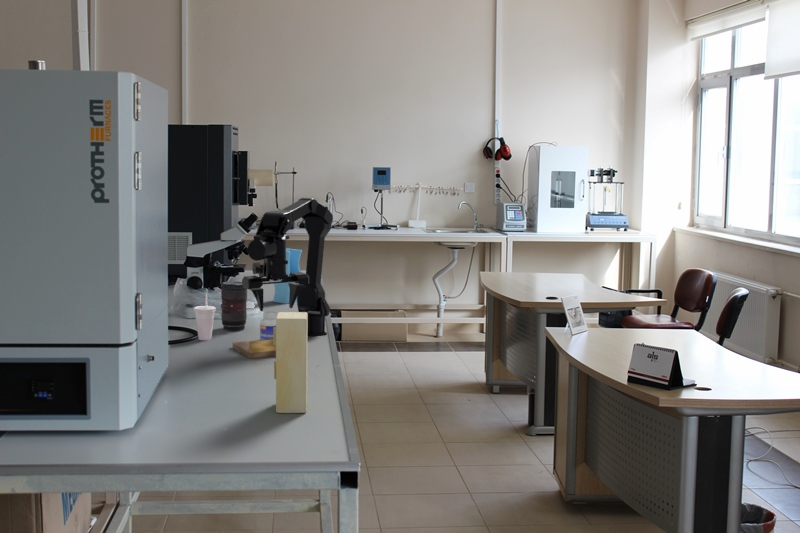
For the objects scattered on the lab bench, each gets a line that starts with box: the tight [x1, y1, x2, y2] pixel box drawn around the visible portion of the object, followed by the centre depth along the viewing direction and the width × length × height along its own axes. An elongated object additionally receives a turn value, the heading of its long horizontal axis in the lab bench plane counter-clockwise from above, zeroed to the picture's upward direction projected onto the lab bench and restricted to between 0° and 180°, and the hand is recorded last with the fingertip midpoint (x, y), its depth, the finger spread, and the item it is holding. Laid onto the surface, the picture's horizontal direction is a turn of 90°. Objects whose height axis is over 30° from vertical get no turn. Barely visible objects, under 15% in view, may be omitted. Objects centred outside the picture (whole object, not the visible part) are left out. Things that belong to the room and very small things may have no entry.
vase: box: [272, 248, 303, 305], centre depth 306 cm, size 8×8×20 cm
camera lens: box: [220, 281, 248, 332], centre depth 255 cm, size 8×8×15 cm
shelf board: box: [232, 339, 276, 359], centre depth 228 cm, size 15×14×4 cm
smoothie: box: [193, 292, 217, 341], centre depth 240 cm, size 6×6×14 cm
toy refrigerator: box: [273, 311, 308, 414], centre depth 175 cm, size 8×7×21 cm
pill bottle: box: [259, 310, 278, 341], centre depth 226 cm, size 5×5×10 cm
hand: (276, 309), depth 230 cm, fingers open, 9 cm apart
